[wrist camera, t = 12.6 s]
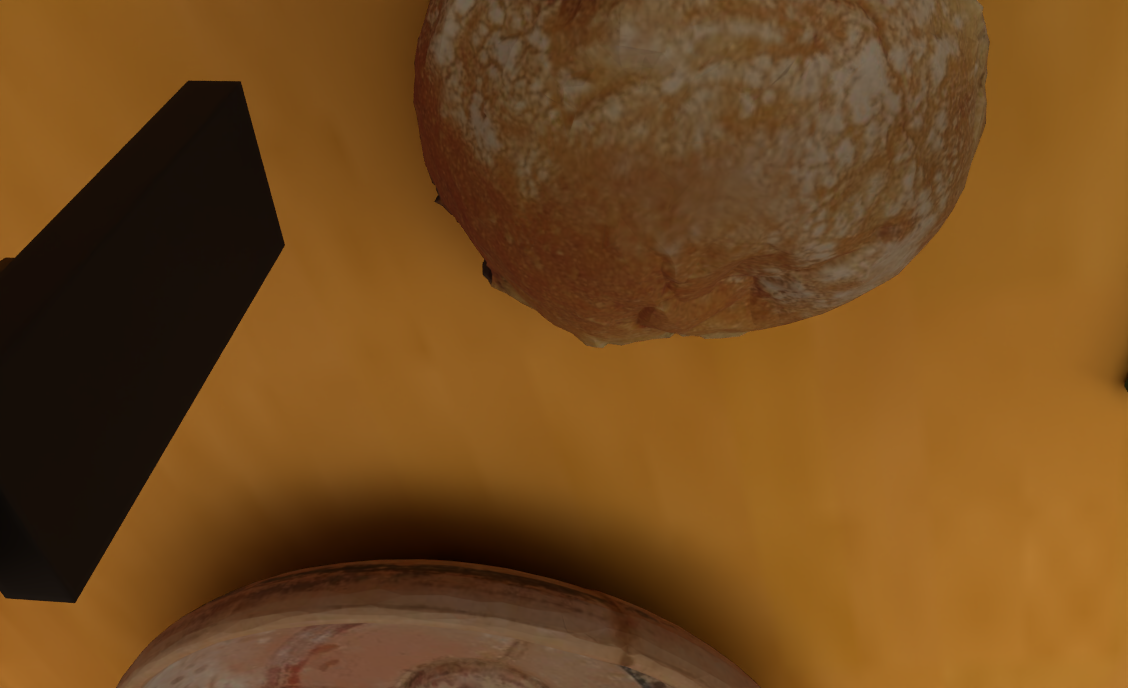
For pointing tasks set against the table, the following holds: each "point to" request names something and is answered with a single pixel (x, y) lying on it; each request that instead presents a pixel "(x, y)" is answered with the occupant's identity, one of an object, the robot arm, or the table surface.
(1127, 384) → the towel
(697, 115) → the bread roll
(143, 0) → the table surface
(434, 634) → the ceramic bowl
